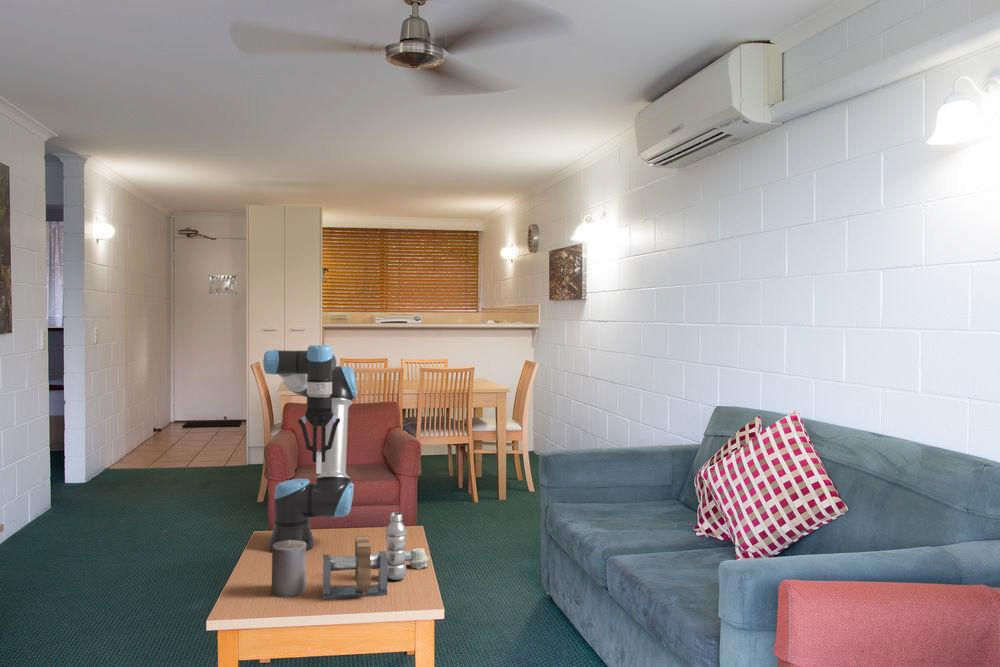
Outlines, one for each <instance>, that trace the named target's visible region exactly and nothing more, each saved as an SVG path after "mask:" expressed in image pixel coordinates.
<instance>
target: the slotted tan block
mask: <svg viewBox="0 0 1000 667" xmlns="http://www.w3.org/2000/svg"><path fill="white" fill-rule="evenodd" d="M354 538H355V539H354V540H355V541H354V555H357V569H355V570H354V579H355V582H356V586H357V588H358V590H360V589H370V585H371V579H372V578H371V572H372V568H371V554H372V548H371V547H372V546H371V543H370V540H369V537H368V535H355V537H354Z"/></svg>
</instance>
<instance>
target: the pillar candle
mask: <svg viewBox="0 0 1000 667" xmlns="http://www.w3.org/2000/svg"><path fill="white" fill-rule="evenodd" d="M271 552H272V553H271V594H272V595H273V596H277V597H281V598H284V597H285V598H288V597H289V598H290V597H294V596H295V597H296V596H300V595H302V594H303V593H304V592H305V591H306V583H307V582H306V580H307V579H306V577H307V576H306V574H307V572H306V571H307V570H306V569H307V551H306V542H302V541H297V540H286V541H280V542H277V543H275V544H273V546H272V551H271Z"/></svg>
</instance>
